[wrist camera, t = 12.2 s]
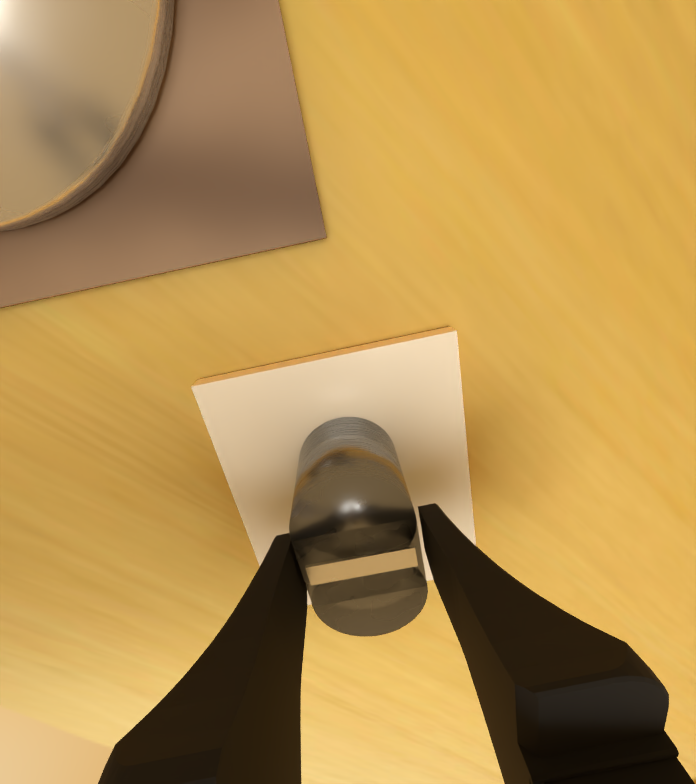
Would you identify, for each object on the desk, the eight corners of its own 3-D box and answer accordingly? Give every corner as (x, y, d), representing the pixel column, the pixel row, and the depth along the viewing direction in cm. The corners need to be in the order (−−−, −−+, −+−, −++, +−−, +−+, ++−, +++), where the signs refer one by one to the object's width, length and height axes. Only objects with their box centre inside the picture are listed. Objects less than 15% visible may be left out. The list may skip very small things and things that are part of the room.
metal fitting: (411, 542, 17) (434, 628, 13) (326, 558, 17) (325, 647, 13) (387, 407, 15) (408, 466, 11) (288, 427, 15) (273, 491, 11)
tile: (471, 557, 19) (478, 570, 18) (278, 596, 19) (276, 611, 18) (449, 326, 14) (456, 330, 14) (197, 379, 14) (191, 386, 14)
